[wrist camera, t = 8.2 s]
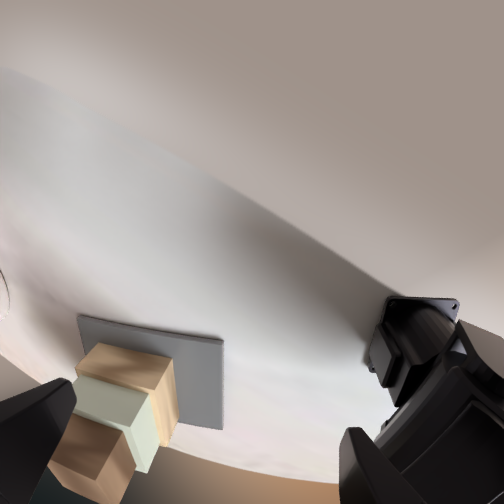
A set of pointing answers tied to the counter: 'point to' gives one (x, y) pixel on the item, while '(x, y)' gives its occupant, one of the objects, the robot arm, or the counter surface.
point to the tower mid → (120, 415)
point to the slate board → (184, 364)
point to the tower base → (137, 380)
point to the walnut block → (93, 460)
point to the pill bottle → (3, 299)
